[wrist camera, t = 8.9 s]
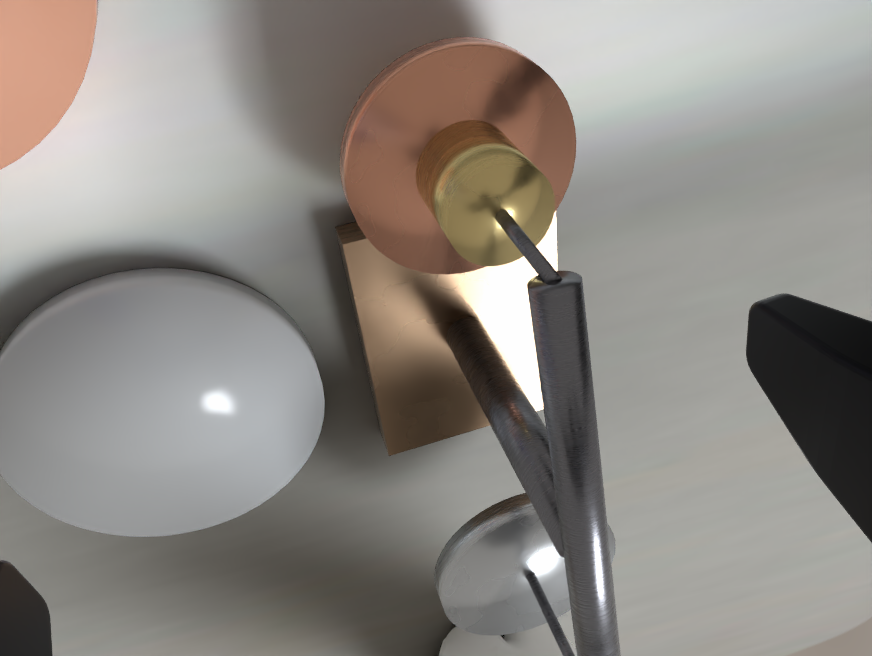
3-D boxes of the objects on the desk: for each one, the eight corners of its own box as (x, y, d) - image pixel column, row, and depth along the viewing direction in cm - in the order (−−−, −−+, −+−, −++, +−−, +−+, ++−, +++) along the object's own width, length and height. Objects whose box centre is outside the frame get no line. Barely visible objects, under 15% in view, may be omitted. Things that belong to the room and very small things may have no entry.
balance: (294, 42, 18) (427, 285, 10) (533, -8, 19) (845, 173, 11) (402, 529, 29) (510, 848, 21) (552, 481, 30) (715, 765, 22)
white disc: (160, 202, 20) (161, 220, 19) (376, 391, 25) (384, 411, 24) (-91, 415, 21) (-100, 441, 20) (167, 551, 26) (168, 575, 25)
